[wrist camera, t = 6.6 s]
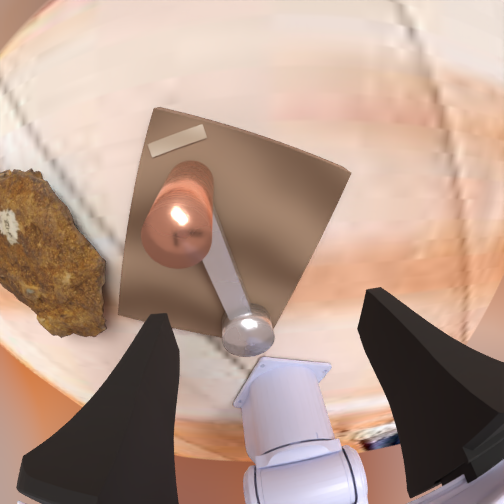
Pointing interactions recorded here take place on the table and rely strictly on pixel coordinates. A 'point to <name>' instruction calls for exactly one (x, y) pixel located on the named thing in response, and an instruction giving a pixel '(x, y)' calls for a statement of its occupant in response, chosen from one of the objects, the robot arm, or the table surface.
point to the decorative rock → (48, 257)
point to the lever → (204, 253)
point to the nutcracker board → (229, 219)
